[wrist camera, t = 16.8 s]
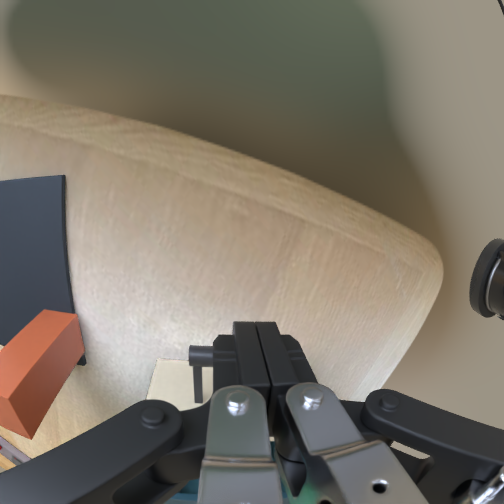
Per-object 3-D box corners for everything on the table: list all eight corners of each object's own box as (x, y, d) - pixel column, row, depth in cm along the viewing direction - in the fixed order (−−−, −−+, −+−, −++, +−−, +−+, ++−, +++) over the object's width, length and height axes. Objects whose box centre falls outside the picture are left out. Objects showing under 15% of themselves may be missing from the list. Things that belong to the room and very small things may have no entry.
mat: (-24, 184, 17) (-28, 185, 17) (65, 175, 19) (61, 175, 18) (1, 341, 22) (-2, 344, 21) (86, 362, 23) (84, 366, 23)
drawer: (152, 308, 22) (124, 371, 14) (310, 313, 23) (348, 373, 15) (171, 445, 26) (165, 502, 18) (281, 446, 28) (295, 501, 20)
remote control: (43, 476, 30) (39, 486, 27) (-18, 431, 26) (-23, 439, 23) (46, 468, 29) (41, 479, 26) (-19, 418, 25) (-26, 427, 22)
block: (44, 309, 21) (-29, 381, 9) (77, 314, 21) (7, 398, 10) (52, 344, 22) (-6, 422, 10) (85, 350, 22) (31, 440, 11)
